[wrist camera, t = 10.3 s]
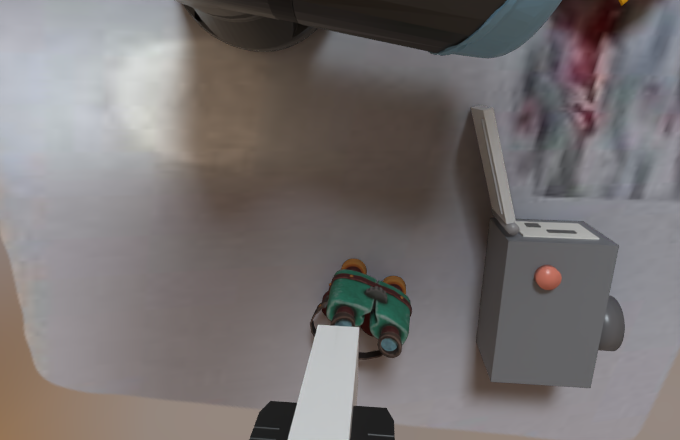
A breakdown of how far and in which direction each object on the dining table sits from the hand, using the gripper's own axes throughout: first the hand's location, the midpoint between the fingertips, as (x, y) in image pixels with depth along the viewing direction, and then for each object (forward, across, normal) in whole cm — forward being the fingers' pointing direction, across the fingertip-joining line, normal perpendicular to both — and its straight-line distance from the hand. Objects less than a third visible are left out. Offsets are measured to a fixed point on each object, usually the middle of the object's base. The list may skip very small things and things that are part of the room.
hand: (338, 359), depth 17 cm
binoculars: (+31, 0, -13) cm, 33 cm away
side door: (+30, +11, +3) cm, 32 cm away
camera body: (+30, +18, -10) cm, 37 cm away
